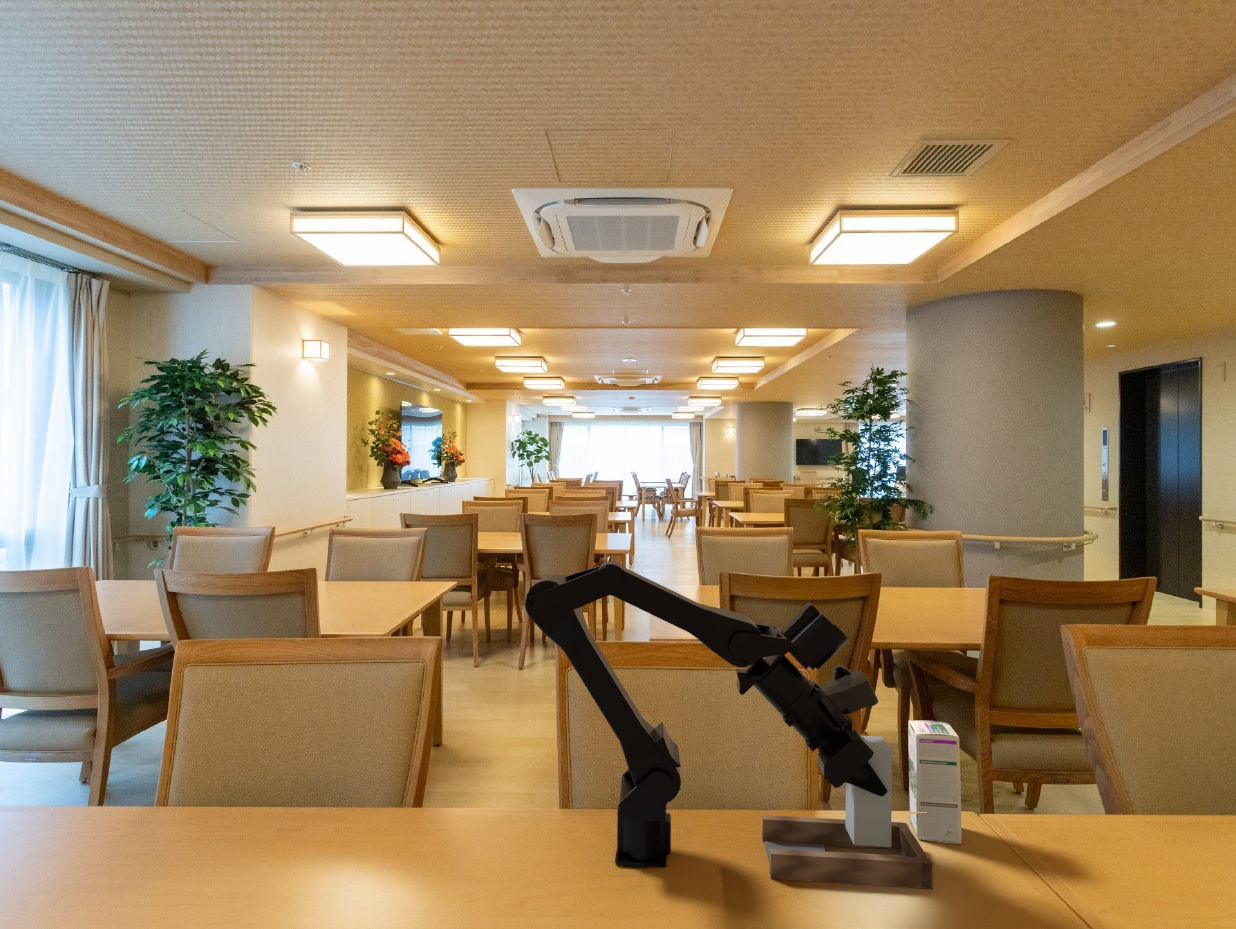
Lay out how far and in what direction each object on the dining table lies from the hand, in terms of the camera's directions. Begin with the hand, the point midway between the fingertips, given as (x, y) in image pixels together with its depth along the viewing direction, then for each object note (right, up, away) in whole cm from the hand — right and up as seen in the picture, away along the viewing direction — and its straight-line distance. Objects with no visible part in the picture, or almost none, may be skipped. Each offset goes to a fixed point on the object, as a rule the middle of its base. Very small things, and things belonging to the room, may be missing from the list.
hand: (879, 785), depth 88 cm
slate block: (-1, -7, 0) cm, 7 cm away
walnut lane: (-5, -10, 0) cm, 11 cm away
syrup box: (+11, -10, +8) cm, 17 cm away
